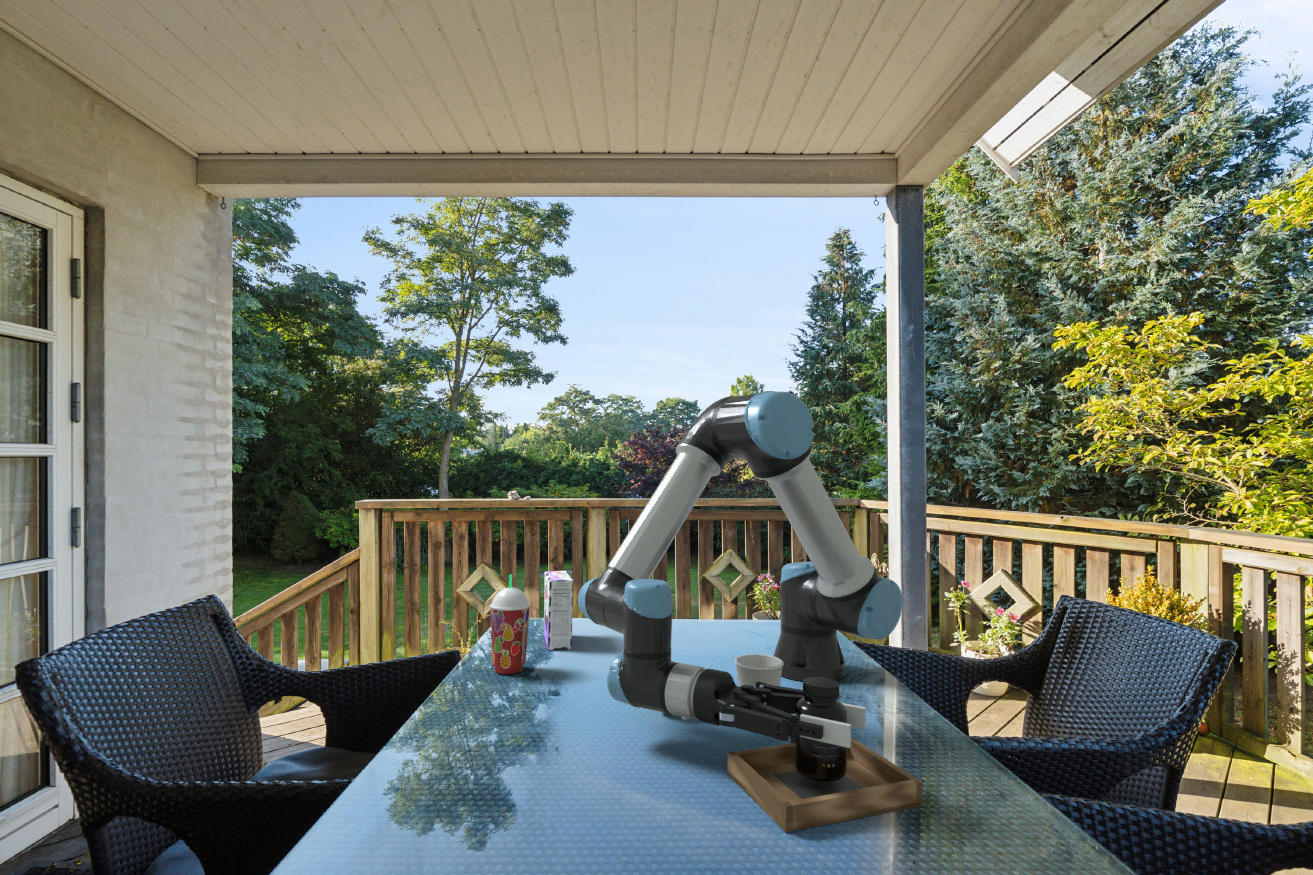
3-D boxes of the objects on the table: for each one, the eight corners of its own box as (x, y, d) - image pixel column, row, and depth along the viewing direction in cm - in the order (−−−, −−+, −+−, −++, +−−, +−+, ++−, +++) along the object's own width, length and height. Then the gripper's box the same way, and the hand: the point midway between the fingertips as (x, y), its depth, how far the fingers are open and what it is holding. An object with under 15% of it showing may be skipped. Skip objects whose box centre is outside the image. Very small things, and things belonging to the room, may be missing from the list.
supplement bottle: (788, 761, 94) (789, 673, 95) (836, 760, 95) (836, 673, 95) (803, 783, 87) (804, 689, 88) (854, 782, 88) (855, 689, 89)
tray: (848, 754, 102) (848, 734, 102) (922, 805, 87) (922, 781, 87) (727, 774, 95) (727, 752, 95) (785, 832, 80) (785, 806, 80)
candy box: (542, 636, 171) (544, 570, 172) (566, 635, 172) (567, 569, 173) (547, 650, 157) (548, 579, 158) (572, 649, 159) (573, 578, 160)
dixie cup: (740, 708, 121) (740, 651, 122) (787, 714, 118) (787, 656, 119) (729, 724, 113) (729, 664, 114) (779, 731, 111) (779, 669, 111)
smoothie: (536, 666, 145) (537, 572, 146) (516, 678, 137) (517, 578, 138) (502, 662, 148) (504, 570, 148) (480, 673, 140) (482, 576, 141)
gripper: (730, 700, 109) (876, 731, 97) (668, 741, 92) (835, 785, 80) (730, 653, 109) (876, 678, 97) (669, 686, 93) (836, 721, 81)
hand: (857, 726), depth 89 cm, fingers closed on supplement bottle, 7 cm apart
